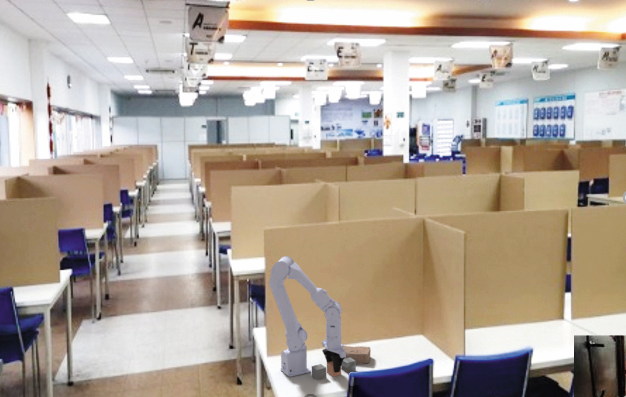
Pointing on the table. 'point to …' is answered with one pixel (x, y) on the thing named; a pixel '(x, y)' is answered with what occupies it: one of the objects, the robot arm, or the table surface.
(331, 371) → the terracotta block
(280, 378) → the table surface
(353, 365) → the slate block
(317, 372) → the gray block
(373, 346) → the table surface
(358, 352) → the brick
